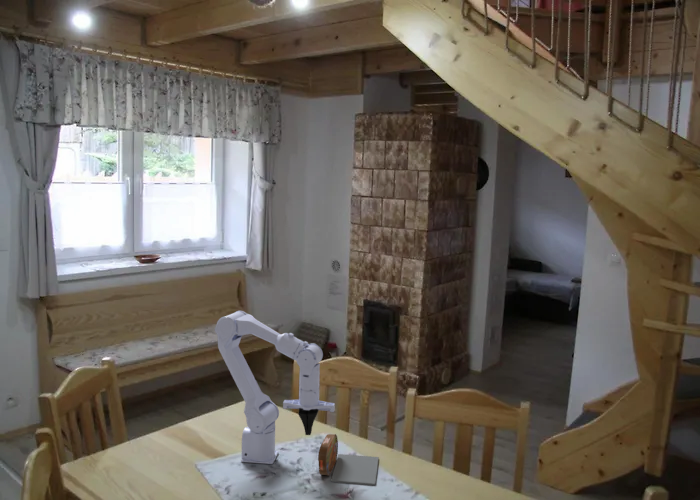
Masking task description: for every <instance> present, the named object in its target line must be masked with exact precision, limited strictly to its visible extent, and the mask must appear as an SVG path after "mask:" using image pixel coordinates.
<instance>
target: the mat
mask: <svg viewBox="0 0 700 500" xmlns="http://www.w3.org/2000/svg"><path fill="white" fill-rule="evenodd" d="M379 458H380V457H379V456H368V455H359V454H358V455H357V454H355V455H354V454H345V453H344V454H343V453H338V454H337V460H336V463H335V465H334V468H333V471H332V472H333V473H332V475H331V476H332V477H331V479H330V481H331V483H343V484H353V485H365V486H366V485H367V486H376V481H377V474H378V465H379Z"/></svg>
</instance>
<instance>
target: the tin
mask: <svg viewBox="0 0 700 500" xmlns="http://www.w3.org/2000/svg"><path fill="white" fill-rule="evenodd" d="M338 443H339V440H338V435H337V433H336V434H331V433H329V434H326V435H325V437H324V439H323V441H322V442H321V445H320V447H319V450H318V455H317V456H318V457H317V461H318V473H319V474H320V475H321V476H330V475H331V474H332V472H333V470H334V468H335V465H336V461H337V458H338V454H339V451H338V450H339V444H338Z"/></svg>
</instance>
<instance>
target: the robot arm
mask: <svg viewBox="0 0 700 500" xmlns="http://www.w3.org/2000/svg"><path fill="white" fill-rule="evenodd" d="M214 332H215V334H216V336H217V348H218V350H219V351H218V352H219V353H220V355H221V357H222V358H223V361H224V362H225V366H227V369H228V371H229V372H230V375H231V377H232V379H233V380H234V383H235V385H236V386H237V389H238V390H239V392H240V394H241V397H242V398H243V400H244V402H245V403H244V409H243V413H244V415H245V419H246V426H245V427H244V428H243V430H242V435H241V459H240V462H242V463H251V464H253V463H254V464H266V465H273V464H274V462H275V460H276V459H277V456H278V454H279V450H276V421H277V419H279V416H280V410H279V407H278V406H277V405H276V404H275V403H274V402H273V401H272V400H271V398H270V396H269V395H267V394H265V393H264V392H263V391H262V390H261V388H260V385H259V384H258V381H257V380H256V378H255V376H254V374H253V372H252V370H251V368H250V366H249V365H248V363H247V360H246V359H245V357H244V354H243V353H242V350H241V348H240V346H239V344H240V343H241V339H242V337H243V336H245V335H253V336H255V337H257V338H259V339H262V340H264V341H266V342H267V343H268V342H269V343H270V344H272V345H274V347H275V349H276V351H277V352H278V353H281V354H282V355H285V356H286V357H288V358H290V359H291V360H294V361H296V364H297V365H298V366H299V367H298V368H299V376H298V377H299V378H298V379H299V380H298V381H299V385H298V387H299V388H298V399H284V400H283V402H282V405H283V406H282V409H283V410H287V409H295V410H296V409H297V410H298V416H299V418H300V421H301V423H302V425H303V427H304V435H305V436H311V435H312V430H313V427H314V422H315V419H316V418H317V415H318V413H319V411H327V412H330V413H334V412H335V406H336V404H335V403H334V402H328V401H323V400H320V381H321V380H320V375H321V374H320V373H321V371H320V368H321V364H320V362H321V361H322V359H323V357H324V353H323V350H322V348H321V346H319V345H318V344H316V343H314V342H313V343H309V342H308V341H306V340H305V341H303V340H302V339H299V338H297V337H296V336H294V335H295V334H294V333H292V332H289V333H288V332H284V333H282V334H281V333H280V332H277V331H276V330H274V329H273V328H271V327H270V326H267V325H266V324H265V323H262V322H261V321H259V320H258V319H256V318H255V317H254V316H253V315H252V314H249V313H247V312H245V311H244V310H237V311H235V312H233V313H230V314H227V315H226V316H221V317H220V318H219V319H218V320H217V321H216V324H215V327H214Z"/></svg>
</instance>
